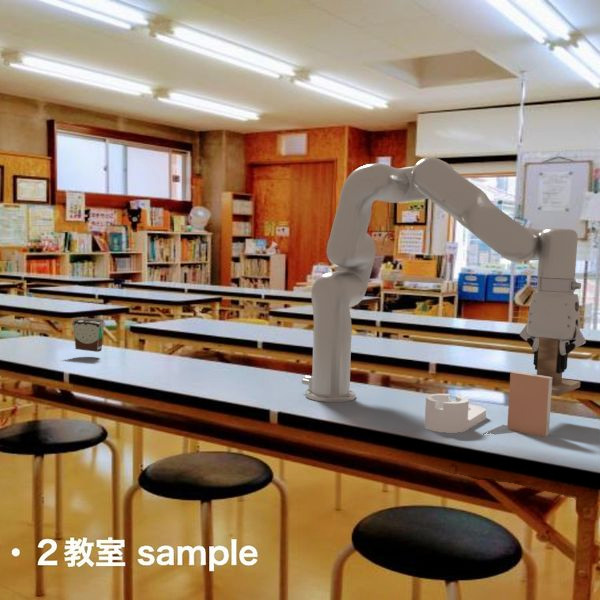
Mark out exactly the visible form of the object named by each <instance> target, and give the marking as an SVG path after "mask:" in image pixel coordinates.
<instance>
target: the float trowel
mask: <svg viewBox="0 0 600 600" xmlns="http://www.w3.org/2000/svg"><path fill="white" fill-rule="evenodd" d="M559 353H560V348H559V340H558V339H554V338H546V337H539V347H538V362H537V370H536V375H542V376H548V377H552V392H551V396H555V397H560V396H563V395H565V394H567V393H569V392H572V391H574V390H576V389H579V388H580V387H581V381H579V380H578V381H577V380H572V379H566V378H563V373H557V372H556V371H557V356H558V355H559Z"/></svg>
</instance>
